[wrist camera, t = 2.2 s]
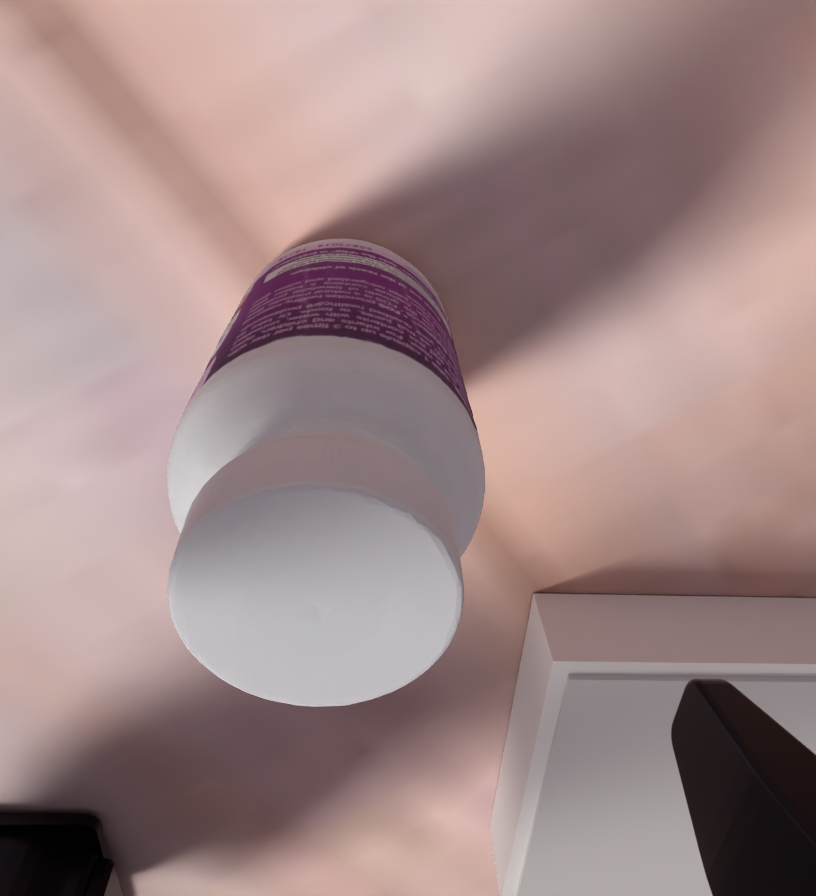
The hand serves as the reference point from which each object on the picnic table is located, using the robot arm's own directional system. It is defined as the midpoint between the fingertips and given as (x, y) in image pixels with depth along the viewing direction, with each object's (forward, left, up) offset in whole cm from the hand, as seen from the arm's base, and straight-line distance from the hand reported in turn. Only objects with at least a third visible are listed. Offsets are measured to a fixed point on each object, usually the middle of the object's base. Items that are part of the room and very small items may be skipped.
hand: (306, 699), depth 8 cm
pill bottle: (0, 0, -11) cm, 11 cm away
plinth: (+12, -14, -11) cm, 21 cm away
